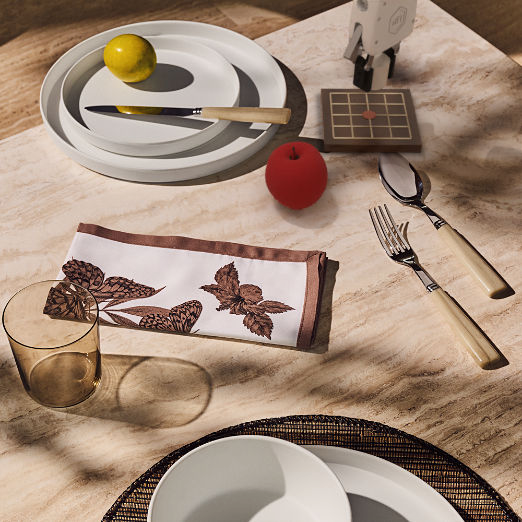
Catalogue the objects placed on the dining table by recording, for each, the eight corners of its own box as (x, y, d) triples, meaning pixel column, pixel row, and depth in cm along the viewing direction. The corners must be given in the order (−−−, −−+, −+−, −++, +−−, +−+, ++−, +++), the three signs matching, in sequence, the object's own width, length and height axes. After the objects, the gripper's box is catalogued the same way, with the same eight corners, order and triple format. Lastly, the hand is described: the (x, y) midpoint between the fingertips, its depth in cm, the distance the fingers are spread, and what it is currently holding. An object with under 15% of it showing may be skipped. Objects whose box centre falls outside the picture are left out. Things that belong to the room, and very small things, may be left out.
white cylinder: (385, 74, 107) (388, 51, 104) (388, 90, 104) (391, 67, 101) (357, 74, 107) (359, 51, 104) (359, 90, 104) (361, 67, 101)
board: (408, 96, 116) (410, 88, 115) (420, 152, 106) (422, 144, 105) (320, 95, 116) (320, 87, 115) (323, 152, 106) (324, 143, 105)
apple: (337, 210, 97) (342, 155, 90) (278, 226, 95) (279, 172, 88) (311, 171, 103) (315, 116, 96) (255, 185, 101) (254, 131, 94)
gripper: (369, -5, 86) (355, 114, 100) (449, -47, 94) (425, 70, 107) (325, -25, 89) (317, 93, 103) (405, -63, 97) (388, 51, 111)
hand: (372, 80), depth 105 cm, fingers closed on white cylinder, 4 cm apart
